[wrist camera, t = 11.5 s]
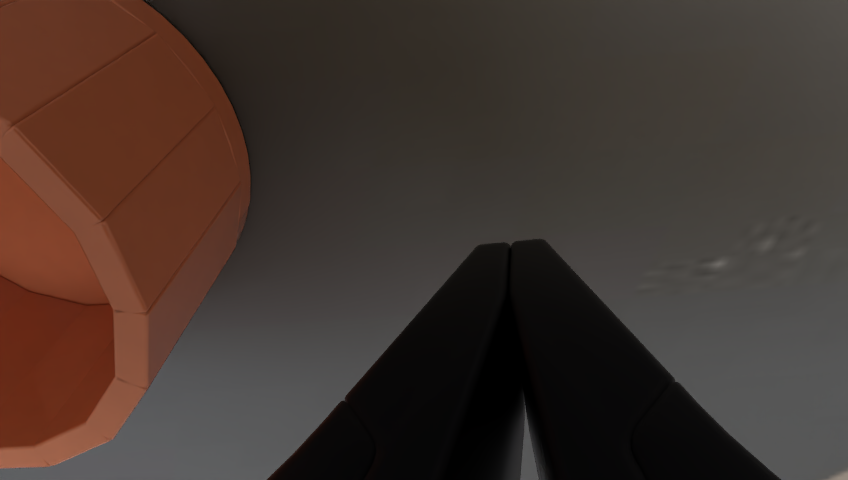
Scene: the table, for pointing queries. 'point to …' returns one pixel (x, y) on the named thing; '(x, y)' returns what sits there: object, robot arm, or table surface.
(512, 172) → the table surface
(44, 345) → the cup
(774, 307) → the table surface
